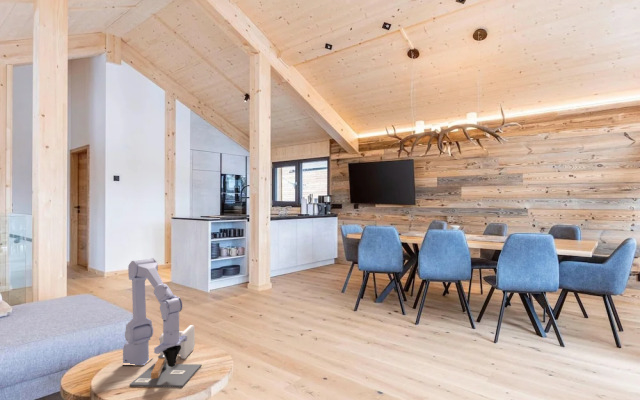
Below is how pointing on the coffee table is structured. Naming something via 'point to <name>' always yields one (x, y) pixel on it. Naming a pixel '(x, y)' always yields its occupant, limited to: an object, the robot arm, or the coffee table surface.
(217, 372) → the coffee table surface
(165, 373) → the panel
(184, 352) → the white notched block
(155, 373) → the bar
